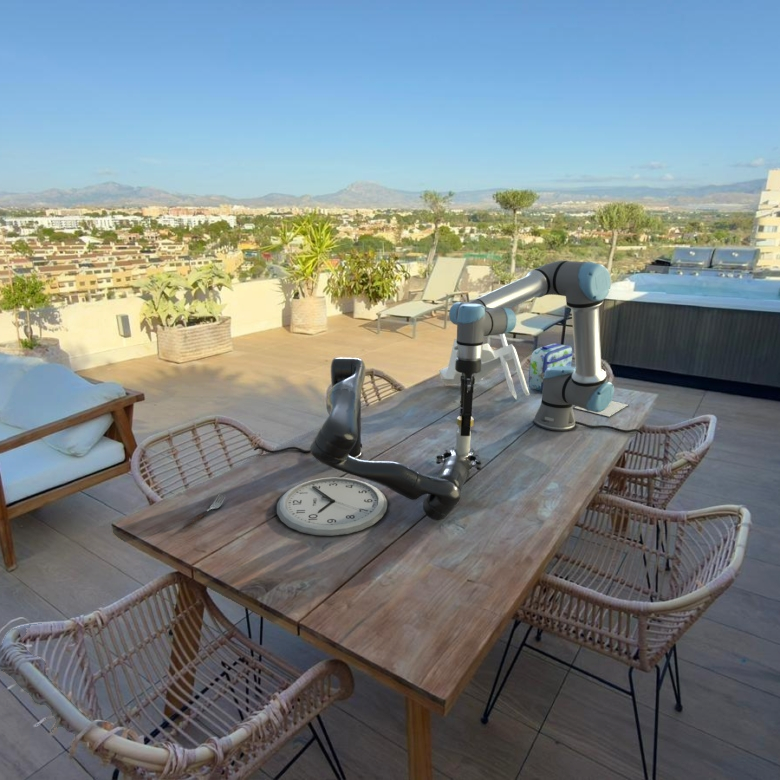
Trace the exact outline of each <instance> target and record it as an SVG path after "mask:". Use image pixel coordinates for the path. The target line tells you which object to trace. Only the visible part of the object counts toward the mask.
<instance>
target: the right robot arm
mask: <svg viewBox="0 0 780 780" xmlns="http://www.w3.org/2000/svg"><path fill="white" fill-rule="evenodd" d="M611 287H612V278H611V273H610V271H609V270H608V268H607V267H606V266H605V265H603V264H601V263H596V262H594V261H578V260H577V261H576V260H575V261H574V260H557V261H552V262H550V263H549V262H548V263H547V264H544V265H542V266H539V267H537V268H534V269H532V270H530V271H528V272H527V274H526V275H525V276H523V277H521V278H519V279H517V280H515V281H512V282H511V283H508V284H506V285H503V286H501V287H499V288H497V289H495V290H492V291H490V292H488V293H486V294H484V295H481V296H479V297H477V298H475V299H472V300H470V301H467V302H465V301H456V302H454V303H453V304H452V305H451V307H450V309H449V312H448V317H449V320H450V322H451V323H452V324H453V325H455V326H456V339H457V346H455V347H454V349H455V350H456V356H457V358H456V363H455V370H456V371H457V372H460V373H462V374H461V375H462V376H461V377H460V380H461V383H460V401H459V403H460V405H459V406H460V409H459V411H460V412H459V416H462V418H461V436H470V431H471V427H470V425H471V417H473V397H474V388H475V384H476V383H475V378H474V376H472V374H474V373H479V372H480V371H481V362H482V360H481V359H480V358H481V357H482V350H483V344H484V337H489V336H495V335H499V334H508V333H511V332H512V331H514V329H515V327H516V326H517V316H516V313H515V312H514V310H513V309H512V308H514V307H517V306H518V305H521V304H523V303H526V302H527V301H530V300H532V299H533V298H536V299H537V298H539V299H540V298H543V297H544V296H549V295H550V296H551V295H552V296H554V295H555V296H561V297H565V302H566V306H567V307H568V308H569V309H570V310H571V320H572V321H571V323H572V336H573V350H574V351H573V353H574V366H571V367H570V366H555V367H549V368H547V369H546V370H545V375H544V378H543V379H544V380H543V391H541V402H540V405H539V407H538V410H537V411H536V413H535V417H534V424H535V425H536V426H537V427H539V428H542V429H544V430H549V431H556V432H567V431H572V430H574V429H575V428H576V425H579V426H582V427H586V428H588V429H589V428H590V429H610V430H613V431H616V432H621V433H629V434H630V433H634V432H637V433H639V434H640V435H644V432H643V431H642V430H641V429H639V428H632V429H622V428H618V427H615V426H611V425H606V424H605V425H603V424H600V425H599V424H597V425H595V424H593V425H592V424H587V423H585V422H581V421H577V420H576V418H575V417H576V416H575V413H574V407H576V406H577V407H580V408H583V409H586V410H587V411H586V412H588V411H593V412H601V411H603V410H604V409H606V408H607V406H608V405H609V404H610V402H611V401H613V398H614V396H615V386H614V384H613V383H612V382H611V381H608V379H607V372H606V371H605V370H604V369H602V349H601V327H600V326H601V324H600V306H601V305H603V303H604V299H606V298H607V296H609V293H610V289H611ZM573 406H574V407H573Z"/></svg>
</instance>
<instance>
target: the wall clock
mask: <svg viewBox="0 0 780 780" xmlns="http://www.w3.org/2000/svg"><path fill="white" fill-rule="evenodd" d="M387 509H388V500H387V498H386V496H385V494H384V493H383V492H382V491H381V490H380V489H379V488H377V487H376V486H374V485H372V484H371V483H369V482H365V481H362V480H359V479H355V478H349V477H338V476H337V477H335V476H333V477H332V476H331V477H322V478H317V479H312V480H307V481H305V482H302V483H299V484H297V485H295V486H293V487H292V488H290V489H288V490H287V491H286V492H285V493H284V494H283V495H281V496H280V498H279V499H278V502H277V503H276V515H277V517H278V518H279V520H280V521H281V522H282V523H283V524H285V525H286V526H287V527H288V528H290V529H293V530H295V531H297V532H299V533H303V534H308V535H312V536H327V537H328V536H329V537H331V536H332V537H333V536H342V535H350V534H352V533H356V532H361V531H363V530H366V529H368V528H369V527H372V526H373V525H375V524H376V523H378V522H379V521H380V520H381V519H382V518H383V517H384V516H385V514H386V512H387Z"/></svg>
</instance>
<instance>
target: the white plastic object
mask: <svg viewBox="0 0 780 780" xmlns="http://www.w3.org/2000/svg"><path fill="white" fill-rule="evenodd" d="M498 335H499V338H500V342H501V345H502V347H500V348H498V349H496V350H495V349H493V348H492V347H491V346H490V344H489V343H488V342H487V343H483V350H482V357H481V358H480V359H481V360H482V362H481V371H480V372H479V373H474V374H472V376H474V378H475V384H477V383H480V382H482V381H484V378H485V377H486V376H487V375H489V374H490V373H492V372H494V371H495V370H496V369H497V368H499V367H500V366H502V370H503V373H504V376H505V380H506V383H507V386H508V390H509V393H510V394H511V395H512V397H513V398H514V399H515V400H517V392H516V391H517V390H516V388H515V385H514V381H513V378H512V375H511V371H510V369H509V365H508V361H510V360H513V363H514V366H515V369H516V372H517V376H518V380H519V382H520V385H521V389H522V391H523V393H524V395H525V396H526V397H528V396H531V395H530V390H529V386H528V384H527V381H526V378H525V375H524V371H523V369H522V368H523V367H522V366H521V362H520V359H519V355H518V352H517V349H516V347H515V346H514V345H513V343H511V344H508V341H507V337H506V333H504V334H498ZM455 346H457V338H454V340H453V344H452V349H451V353H450V357H449V362H448V366H446V367H444V368H442V369H440V370H439V371H438V372H439V376H440V381H442V383H443V384H444V385H445V386H449V385H458V384H461V380H460V377H461V376H462V375H461V374H462V373H460V372H457V371H456V370H455V363H456V358H457V356H456V350H455V349H454V347H455Z"/></svg>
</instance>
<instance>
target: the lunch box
mask: <svg viewBox="0 0 780 780" xmlns="http://www.w3.org/2000/svg"><path fill="white" fill-rule="evenodd" d="M573 356H574V355H573V347H572V346H571V345H566V344H560V343H551V344H548V345H544V346H541V347H538V348H536V349H534V350H533V351H532V353H531V355H530V359H529V370H528V371H529V372H528V389H531V390H536V391H541V392H542V391H543V380H544V379H543V378H544V375H545V370H546V369H547V368H549V367H555V366H570V367H572V365H573V363H572V362H573Z"/></svg>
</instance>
